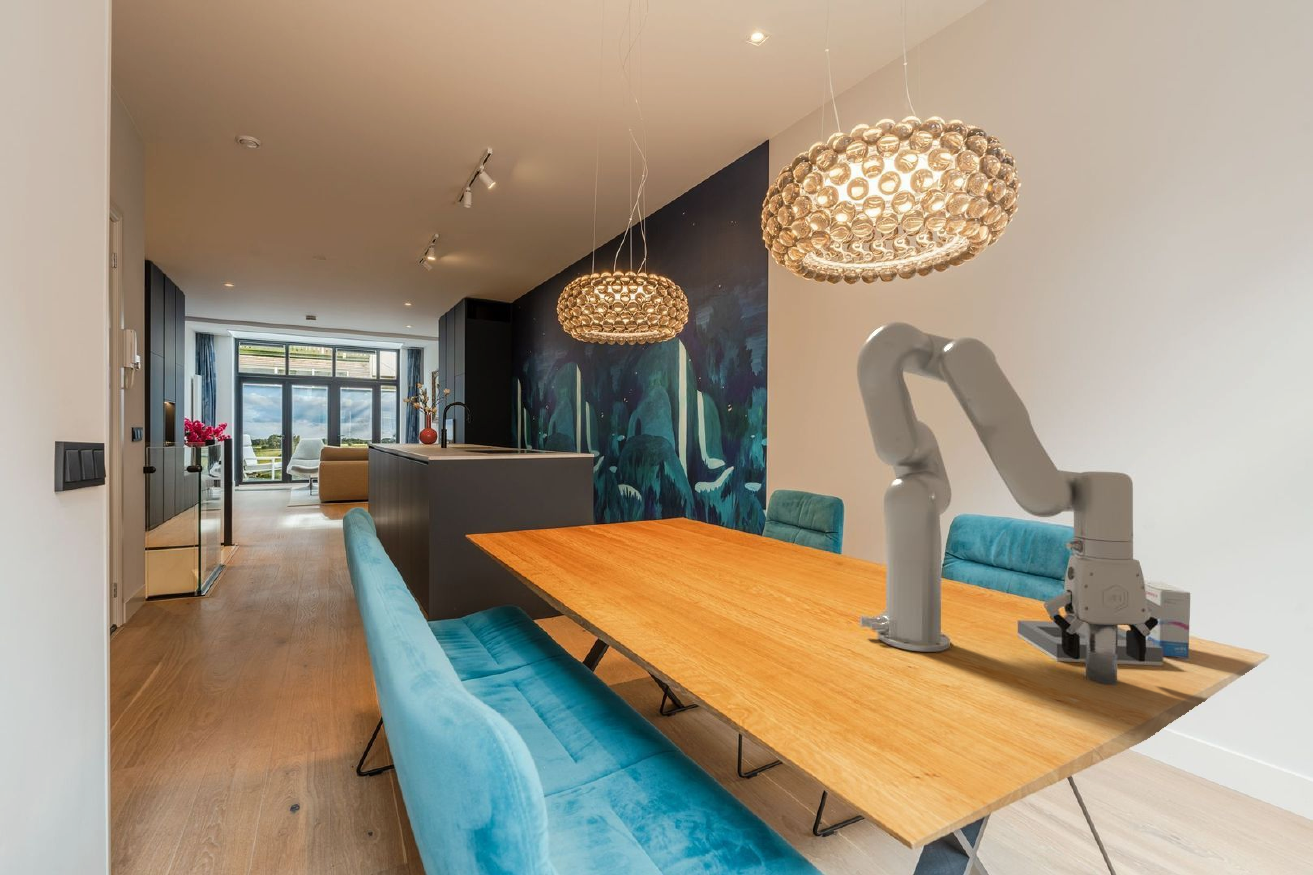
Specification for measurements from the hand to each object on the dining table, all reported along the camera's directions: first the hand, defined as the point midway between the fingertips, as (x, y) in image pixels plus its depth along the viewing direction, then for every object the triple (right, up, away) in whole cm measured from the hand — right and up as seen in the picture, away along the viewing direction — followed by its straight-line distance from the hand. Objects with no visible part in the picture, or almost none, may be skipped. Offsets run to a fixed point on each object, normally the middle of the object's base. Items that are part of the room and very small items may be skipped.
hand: (1103, 657), depth 93 cm
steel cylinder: (0, -4, 0) cm, 4 cm away
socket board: (+7, -4, +14) cm, 16 cm away
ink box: (+21, -4, +14) cm, 26 cm away
